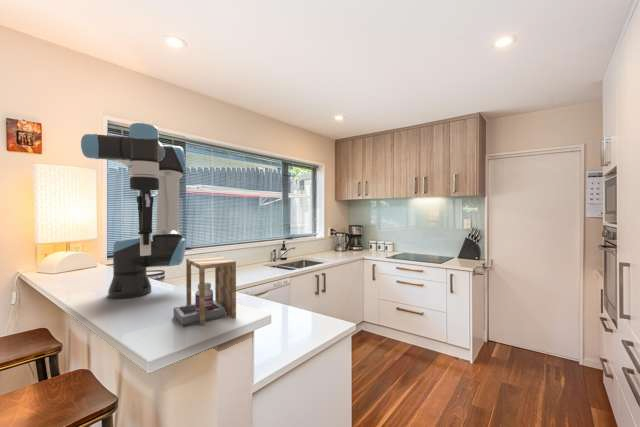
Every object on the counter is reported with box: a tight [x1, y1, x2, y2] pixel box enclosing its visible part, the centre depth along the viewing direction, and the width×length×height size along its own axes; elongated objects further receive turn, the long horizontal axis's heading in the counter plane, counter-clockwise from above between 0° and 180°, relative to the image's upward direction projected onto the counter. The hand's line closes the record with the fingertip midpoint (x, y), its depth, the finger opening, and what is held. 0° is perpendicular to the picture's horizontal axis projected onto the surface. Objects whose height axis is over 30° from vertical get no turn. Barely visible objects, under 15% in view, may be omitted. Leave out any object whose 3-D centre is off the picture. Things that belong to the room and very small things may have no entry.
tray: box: [173, 299, 226, 328], centre depth 96 cm, size 11×13×3 cm
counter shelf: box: [185, 255, 237, 327], centre depth 98 cm, size 16×11×18 cm
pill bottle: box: [194, 282, 214, 313], centre depth 97 cm, size 5×5×10 cm
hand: (145, 255), depth 90 cm, fingers closed
